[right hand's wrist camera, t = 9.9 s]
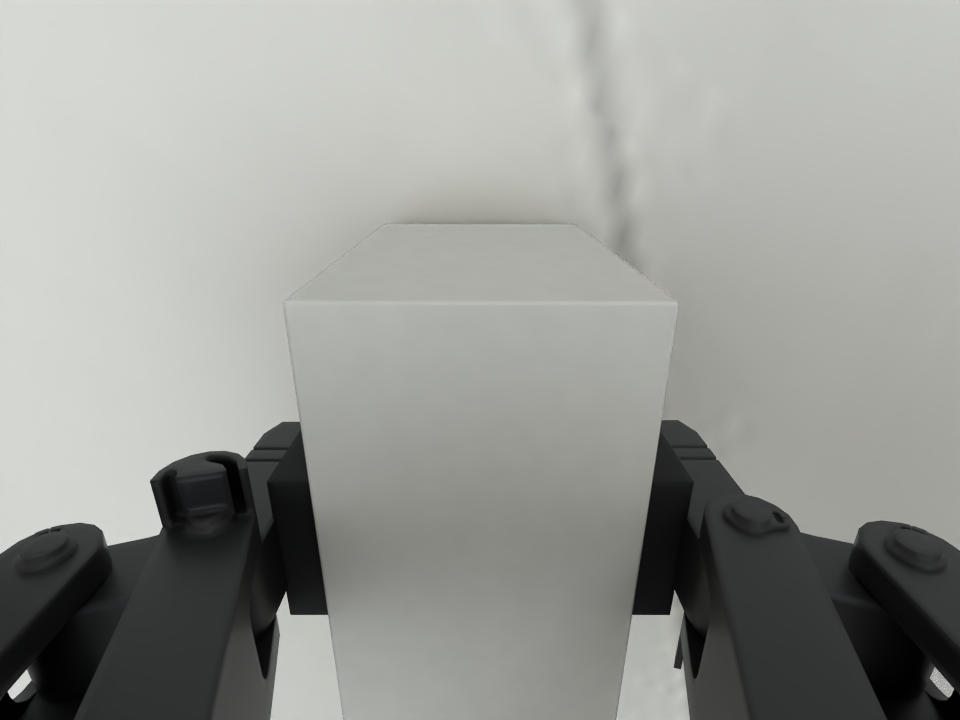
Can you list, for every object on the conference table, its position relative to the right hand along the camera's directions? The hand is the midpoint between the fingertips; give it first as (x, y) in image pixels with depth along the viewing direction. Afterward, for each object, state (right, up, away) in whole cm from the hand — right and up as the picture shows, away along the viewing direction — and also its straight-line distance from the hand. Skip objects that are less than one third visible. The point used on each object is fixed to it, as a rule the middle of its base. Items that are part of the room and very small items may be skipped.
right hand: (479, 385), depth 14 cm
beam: (0, -23, +10) cm, 25 cm away
